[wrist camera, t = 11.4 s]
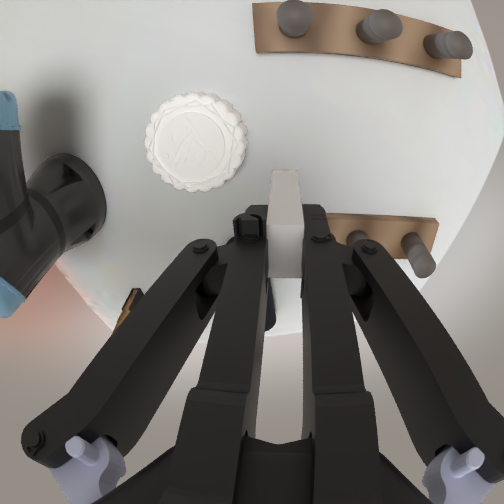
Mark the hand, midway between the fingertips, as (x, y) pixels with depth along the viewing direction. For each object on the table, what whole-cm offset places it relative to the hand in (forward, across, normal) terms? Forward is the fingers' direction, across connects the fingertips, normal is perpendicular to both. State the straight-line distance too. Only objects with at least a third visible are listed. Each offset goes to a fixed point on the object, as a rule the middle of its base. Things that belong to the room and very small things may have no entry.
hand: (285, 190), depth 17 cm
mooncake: (+17, -10, 0) cm, 20 cm away
